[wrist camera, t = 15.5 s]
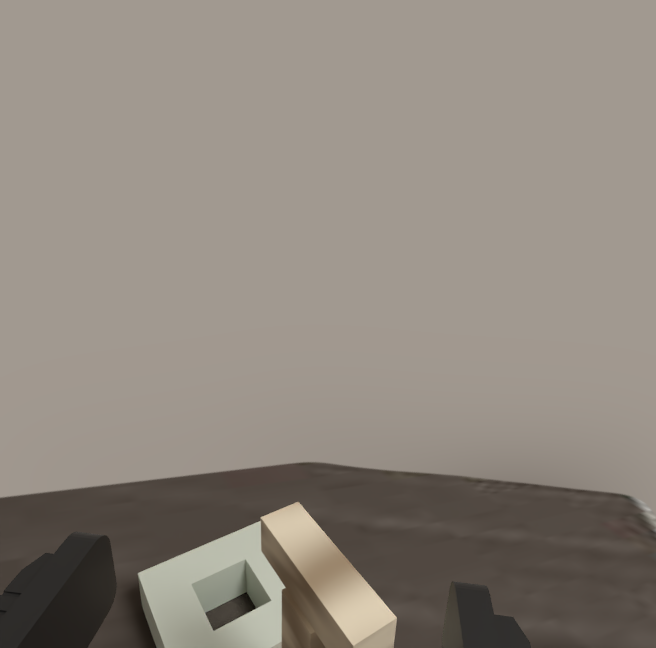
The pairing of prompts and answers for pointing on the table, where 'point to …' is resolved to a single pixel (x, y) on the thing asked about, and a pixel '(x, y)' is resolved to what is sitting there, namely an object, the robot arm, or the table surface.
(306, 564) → the t key
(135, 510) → the table surface
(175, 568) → the socket block
